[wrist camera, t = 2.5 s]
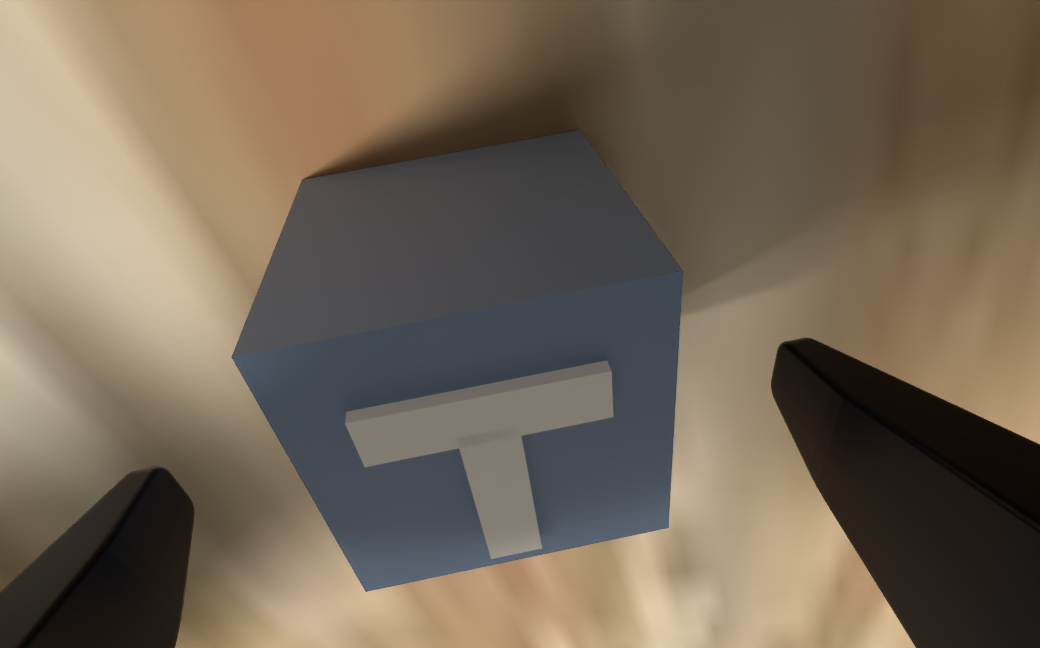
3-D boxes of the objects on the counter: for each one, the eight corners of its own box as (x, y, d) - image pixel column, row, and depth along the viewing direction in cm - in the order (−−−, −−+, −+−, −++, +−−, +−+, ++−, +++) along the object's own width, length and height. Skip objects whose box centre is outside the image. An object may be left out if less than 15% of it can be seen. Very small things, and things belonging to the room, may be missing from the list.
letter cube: (592, 341, 13) (673, 538, 9) (380, 382, 13) (365, 603, 9) (578, 128, 10) (689, 280, 6) (302, 178, 10) (226, 368, 6)
